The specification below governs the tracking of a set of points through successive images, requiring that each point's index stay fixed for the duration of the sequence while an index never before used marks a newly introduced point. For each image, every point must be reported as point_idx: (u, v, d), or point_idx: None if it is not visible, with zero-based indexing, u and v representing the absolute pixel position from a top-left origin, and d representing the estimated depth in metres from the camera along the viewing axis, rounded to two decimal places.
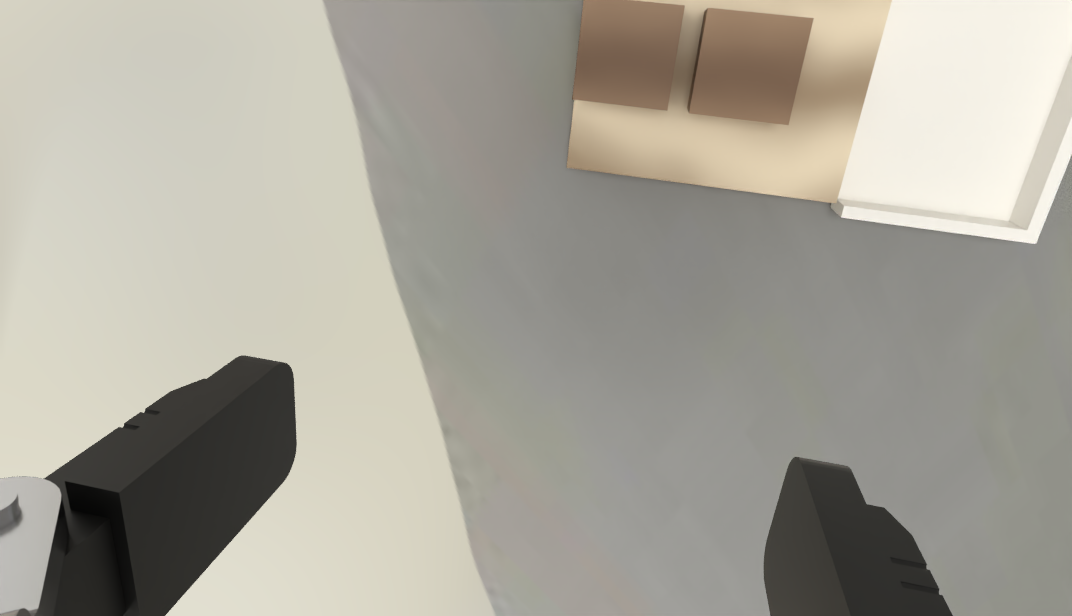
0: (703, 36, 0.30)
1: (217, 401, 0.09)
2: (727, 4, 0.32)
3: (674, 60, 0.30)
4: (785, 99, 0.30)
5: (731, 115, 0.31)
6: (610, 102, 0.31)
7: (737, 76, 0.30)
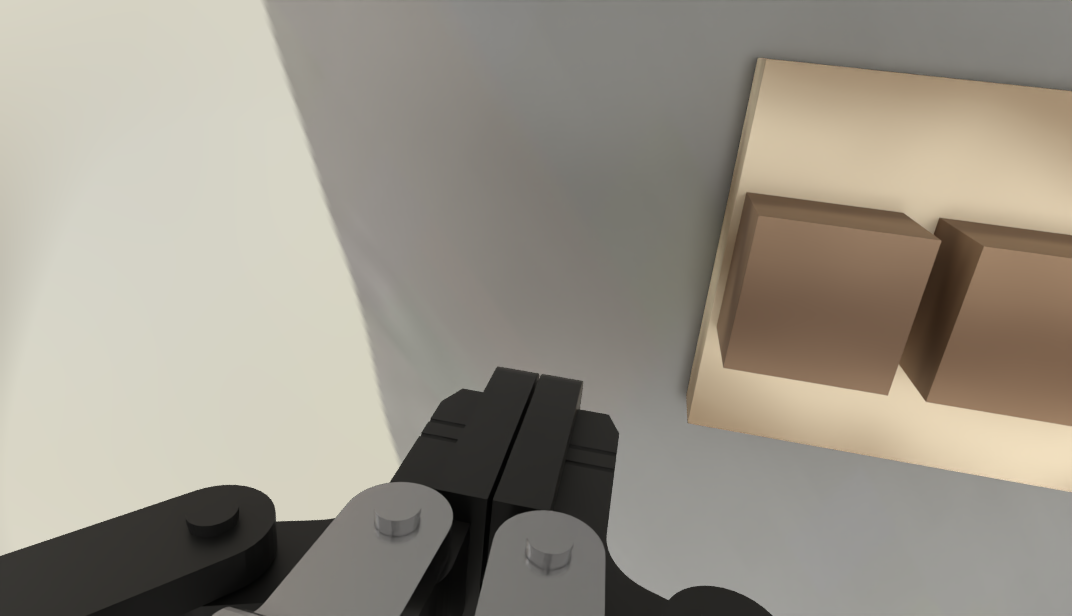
0: (967, 288, 0.17)
1: (509, 411, 0.10)
2: (981, 209, 0.19)
3: (910, 323, 0.18)
4: None
5: (1002, 410, 0.18)
6: (789, 376, 0.19)
7: (1022, 353, 0.17)
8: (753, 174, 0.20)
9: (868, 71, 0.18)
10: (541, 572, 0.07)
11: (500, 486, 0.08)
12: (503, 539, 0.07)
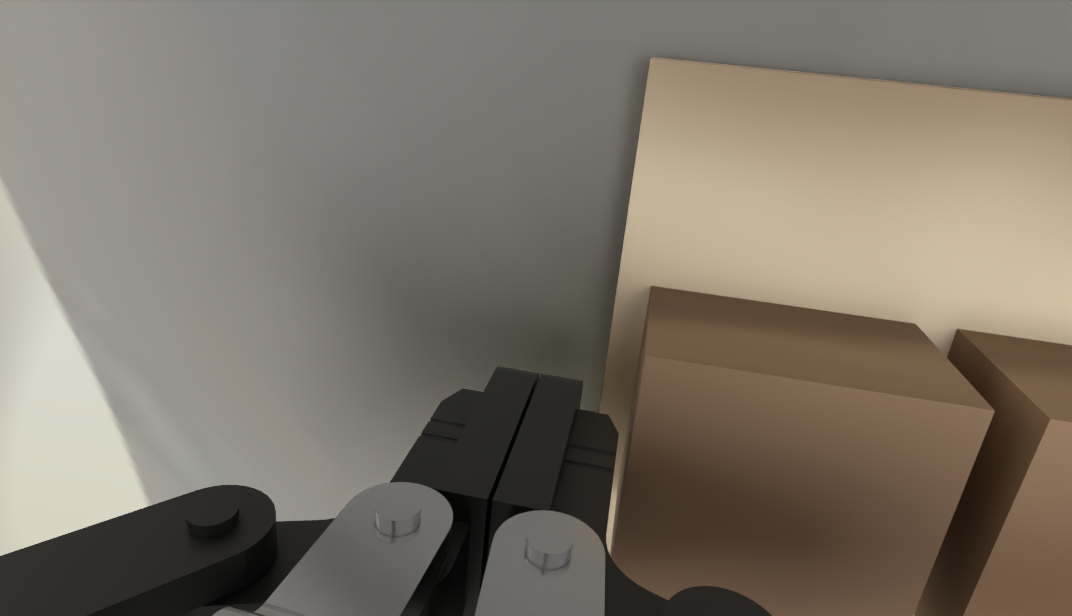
0: (1016, 490, 0.09)
1: (509, 411, 0.10)
2: (1030, 316, 0.11)
3: (935, 551, 0.09)
4: None
5: None
6: None
7: None
8: (641, 252, 0.12)
9: (828, 78, 0.10)
10: (541, 572, 0.07)
11: (500, 486, 0.08)
12: (503, 539, 0.07)
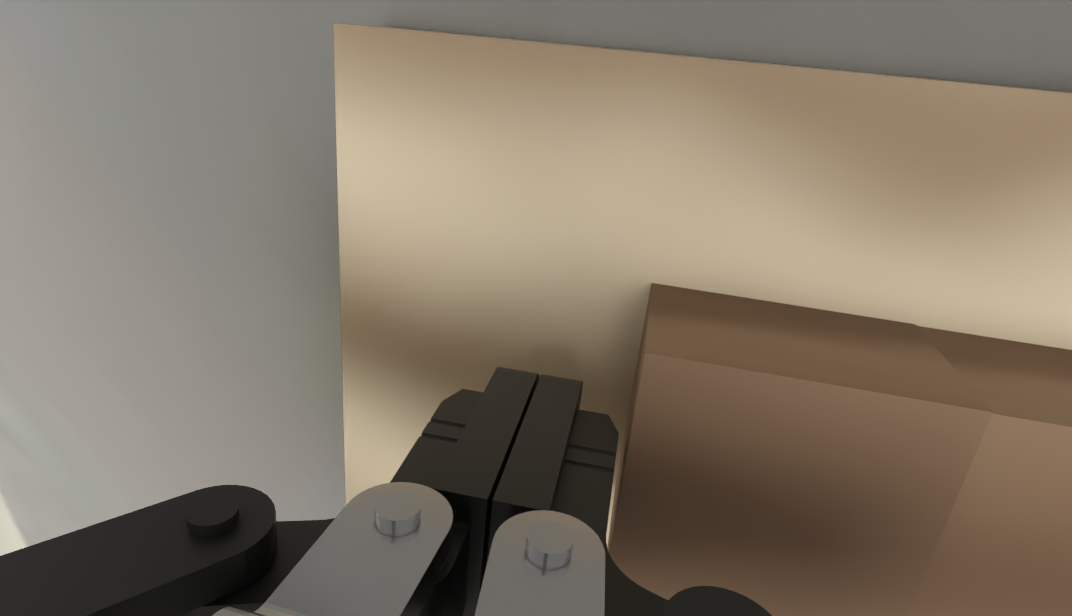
0: None
1: (509, 411, 0.10)
2: (699, 264, 0.12)
3: (931, 550, 0.09)
4: None
5: None
6: None
7: (1061, 599, 0.09)
8: (355, 209, 0.13)
9: (488, 40, 0.11)
10: (540, 572, 0.07)
11: (500, 486, 0.08)
12: (503, 538, 0.07)
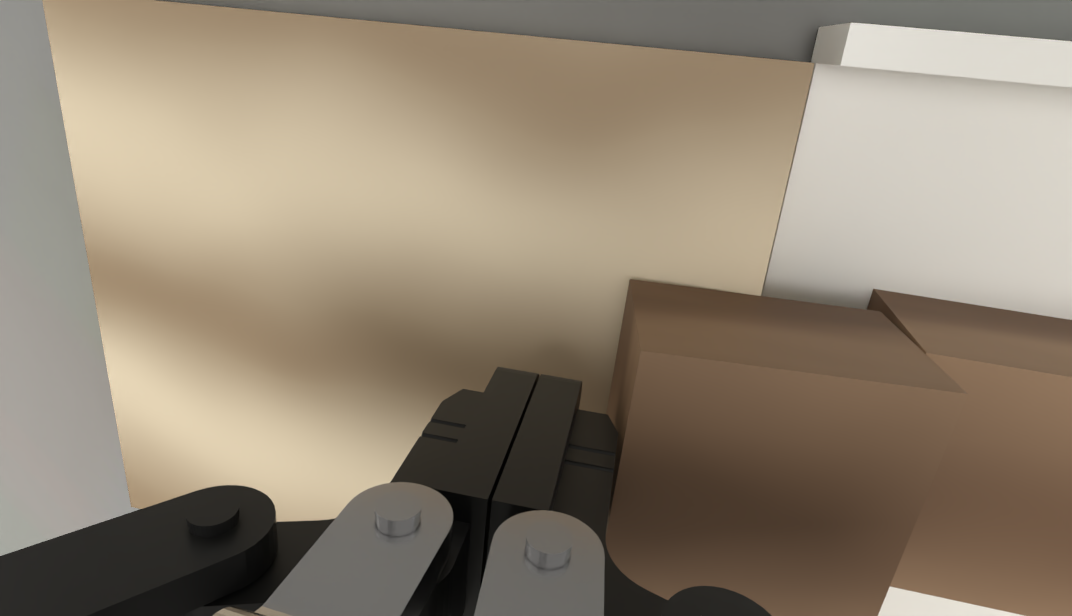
0: None
1: (509, 411, 0.10)
2: (380, 211, 0.13)
3: (910, 527, 0.10)
4: None
5: (960, 596, 0.12)
6: None
7: (989, 516, 0.11)
8: (85, 163, 0.14)
9: (170, 4, 0.12)
10: (540, 572, 0.07)
11: (499, 486, 0.08)
12: (502, 539, 0.07)
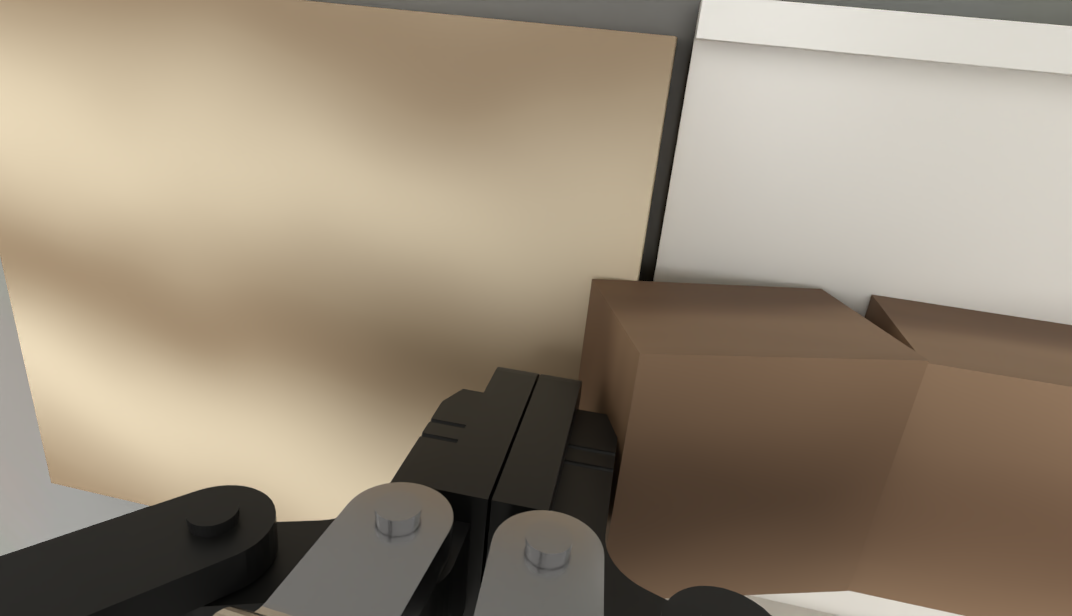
0: None
1: (509, 411, 0.10)
2: (269, 186, 0.13)
3: (881, 488, 0.11)
4: None
5: (961, 610, 0.11)
6: None
7: (990, 528, 0.11)
8: None
9: None
10: (540, 572, 0.07)
11: (499, 486, 0.08)
12: (502, 538, 0.07)
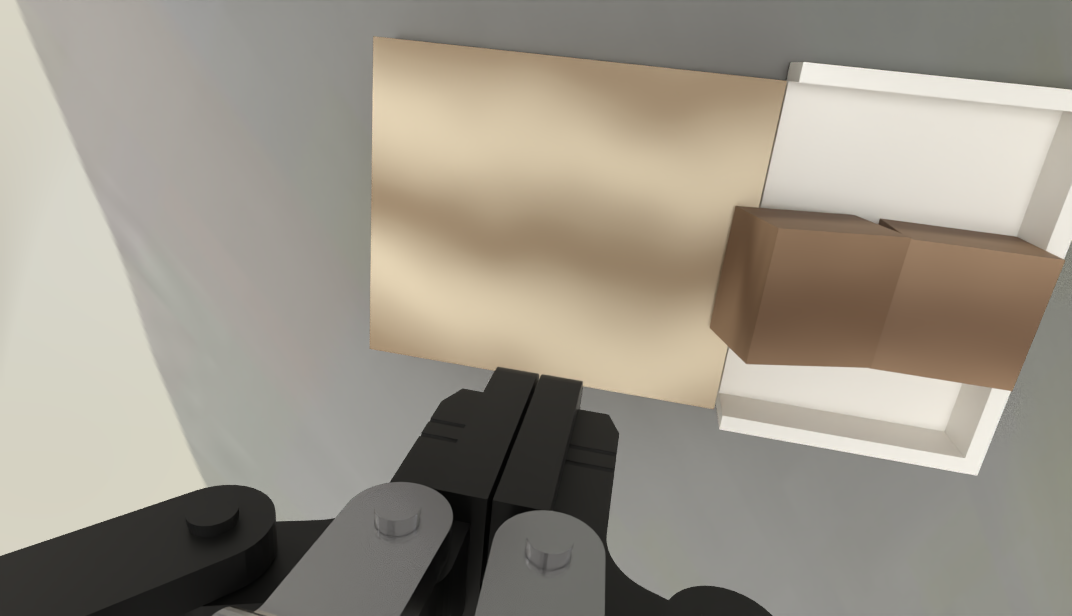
0: None
1: (509, 411, 0.10)
2: (553, 158, 0.23)
3: (888, 306, 0.21)
4: (1011, 359, 0.21)
5: (930, 374, 0.22)
6: (797, 363, 0.22)
7: (943, 326, 0.21)
8: (381, 131, 0.24)
9: (448, 45, 0.23)
10: (541, 572, 0.07)
11: (500, 486, 0.08)
12: (503, 539, 0.07)
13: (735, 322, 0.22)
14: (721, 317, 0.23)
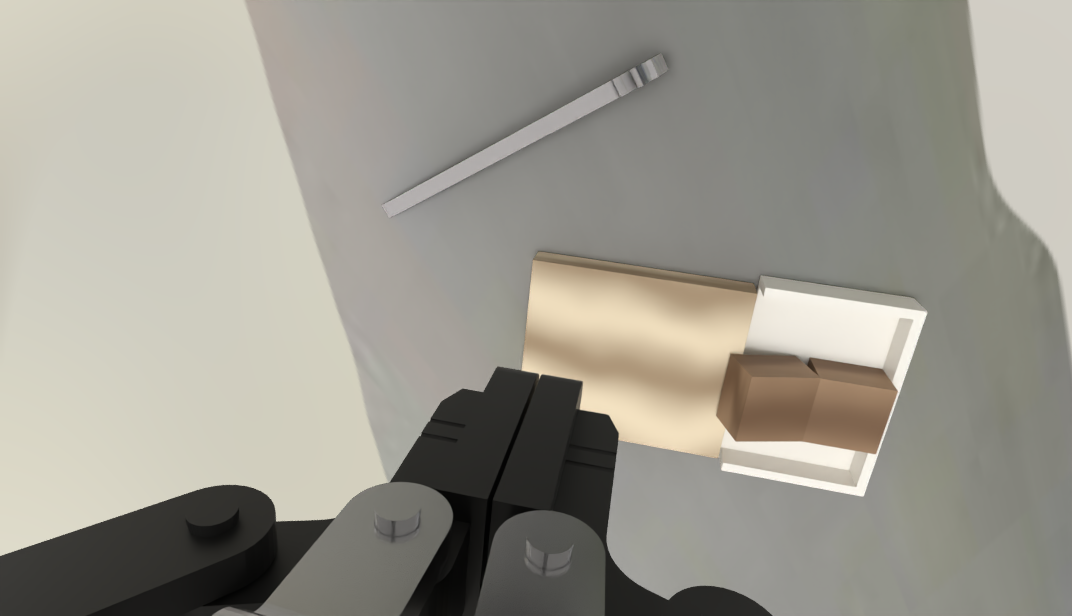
0: None
1: (509, 411, 0.10)
2: (630, 325, 0.43)
3: (810, 411, 0.41)
4: (874, 438, 0.41)
5: (833, 445, 0.42)
6: (762, 440, 0.41)
7: (839, 421, 0.41)
8: (533, 307, 0.44)
9: (575, 267, 0.42)
10: (541, 572, 0.07)
11: (500, 486, 0.08)
12: (503, 539, 0.07)
13: (730, 417, 0.42)
14: (722, 412, 0.43)
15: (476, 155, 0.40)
